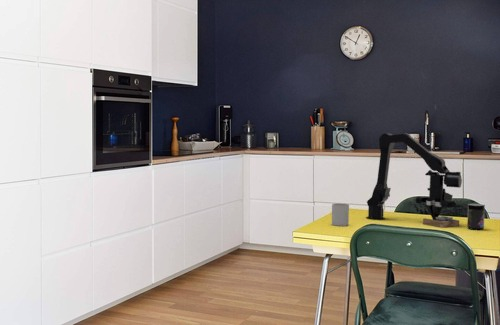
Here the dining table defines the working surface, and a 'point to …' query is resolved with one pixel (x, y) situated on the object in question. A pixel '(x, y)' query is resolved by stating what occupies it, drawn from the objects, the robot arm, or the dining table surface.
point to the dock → (441, 223)
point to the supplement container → (475, 216)
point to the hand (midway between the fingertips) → (434, 221)
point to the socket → (443, 218)
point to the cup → (340, 214)
